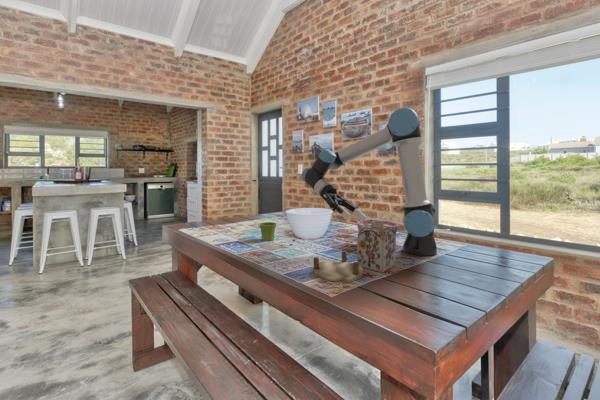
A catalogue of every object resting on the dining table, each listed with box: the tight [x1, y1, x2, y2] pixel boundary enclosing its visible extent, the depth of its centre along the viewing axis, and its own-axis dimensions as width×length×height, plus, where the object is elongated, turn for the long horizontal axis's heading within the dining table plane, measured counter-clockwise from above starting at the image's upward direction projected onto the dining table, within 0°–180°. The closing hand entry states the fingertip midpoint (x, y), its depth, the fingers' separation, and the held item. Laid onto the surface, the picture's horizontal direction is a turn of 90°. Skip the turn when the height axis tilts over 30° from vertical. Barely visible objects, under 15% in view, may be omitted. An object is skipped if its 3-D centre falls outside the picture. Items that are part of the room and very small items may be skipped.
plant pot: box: [258, 221, 278, 242], centre depth 171 cm, size 9×9×9 cm
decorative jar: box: [356, 221, 397, 273], centre depth 128 cm, size 12×12×18 cm
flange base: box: [312, 250, 364, 283], centre depth 120 cm, size 18×18×6 cm
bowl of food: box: [356, 219, 399, 234], centre depth 159 cm, size 20×20×12 cm
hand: (356, 218), depth 137 cm, fingers open, 13 cm apart
